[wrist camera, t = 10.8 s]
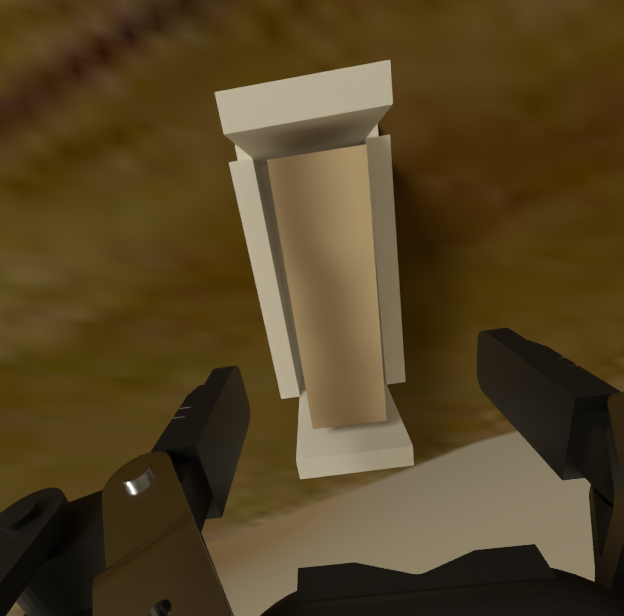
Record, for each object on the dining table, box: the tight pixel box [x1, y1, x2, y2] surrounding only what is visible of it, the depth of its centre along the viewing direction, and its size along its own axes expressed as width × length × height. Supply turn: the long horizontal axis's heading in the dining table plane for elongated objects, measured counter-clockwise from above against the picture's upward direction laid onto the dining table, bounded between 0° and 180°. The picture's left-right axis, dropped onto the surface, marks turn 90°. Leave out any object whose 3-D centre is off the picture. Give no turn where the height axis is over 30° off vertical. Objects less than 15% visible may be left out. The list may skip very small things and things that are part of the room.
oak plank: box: [267, 144, 387, 429], centre depth 18 cm, size 4×15×5 cm, turn 8°
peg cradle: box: [215, 60, 414, 479], centre depth 20 cm, size 10×20×10 cm, turn 9°
